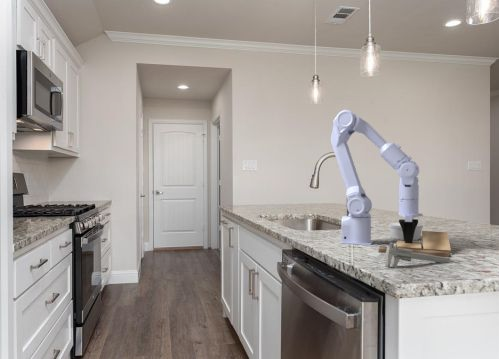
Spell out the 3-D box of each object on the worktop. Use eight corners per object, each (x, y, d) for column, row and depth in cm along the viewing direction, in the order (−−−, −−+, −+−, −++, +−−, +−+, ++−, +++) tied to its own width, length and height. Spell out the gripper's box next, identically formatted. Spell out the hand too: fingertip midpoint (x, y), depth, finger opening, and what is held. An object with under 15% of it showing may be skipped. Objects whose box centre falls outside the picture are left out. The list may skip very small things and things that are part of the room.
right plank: (423, 252, 110) (423, 248, 110) (422, 234, 120) (422, 230, 120) (450, 254, 108) (450, 250, 107) (447, 235, 117) (447, 232, 117)
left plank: (395, 250, 113) (395, 246, 113) (396, 244, 123) (396, 240, 123) (421, 252, 111) (421, 248, 111) (420, 245, 121) (420, 242, 121)
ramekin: (381, 237, 139) (381, 223, 139) (403, 235, 144) (403, 221, 144) (406, 242, 129) (407, 226, 129) (429, 240, 134) (429, 225, 134)
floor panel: (378, 252, 110) (378, 248, 110) (379, 250, 114) (379, 246, 114) (448, 258, 104) (448, 253, 104) (447, 255, 107) (447, 250, 107)
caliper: (388, 269, 92) (388, 243, 92) (385, 268, 93) (385, 242, 93) (454, 263, 98) (454, 239, 98) (450, 262, 99) (450, 238, 99)
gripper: (423, 200, 112) (423, 247, 112) (421, 198, 125) (421, 239, 125) (397, 200, 114) (397, 245, 114) (398, 197, 128) (398, 238, 128)
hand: (408, 242), depth 120 cm, fingers closed
